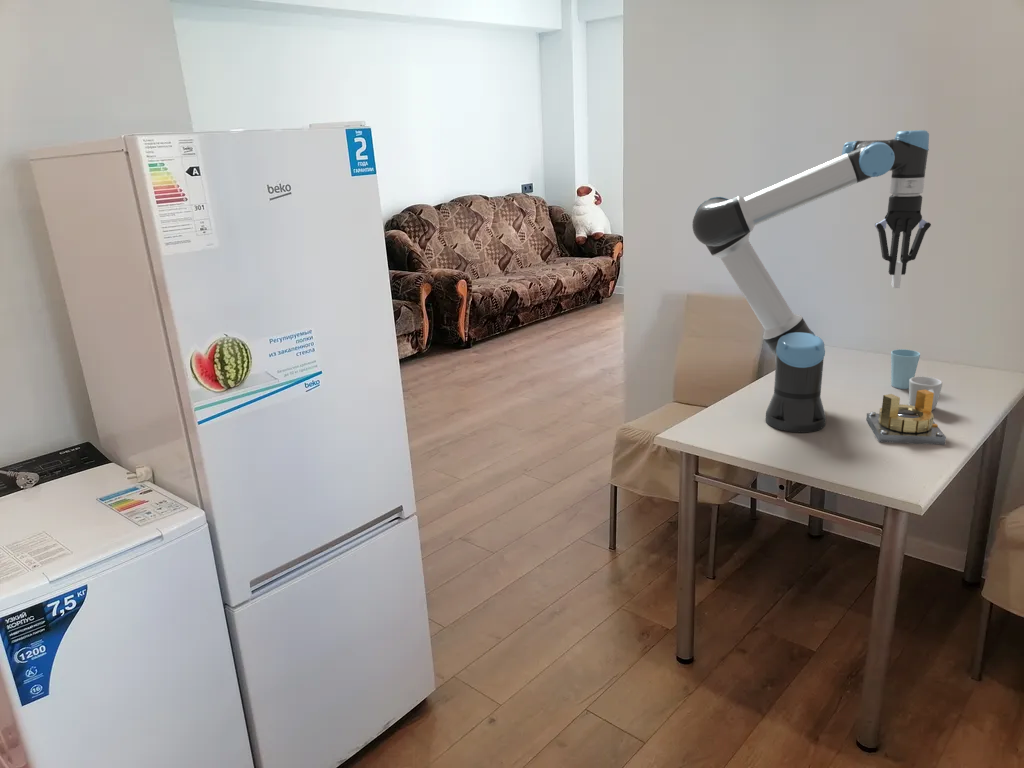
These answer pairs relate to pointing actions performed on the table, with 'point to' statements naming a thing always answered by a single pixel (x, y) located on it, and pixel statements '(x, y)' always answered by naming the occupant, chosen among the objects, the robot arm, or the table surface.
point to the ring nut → (922, 407)
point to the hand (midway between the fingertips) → (895, 286)
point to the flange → (904, 437)
